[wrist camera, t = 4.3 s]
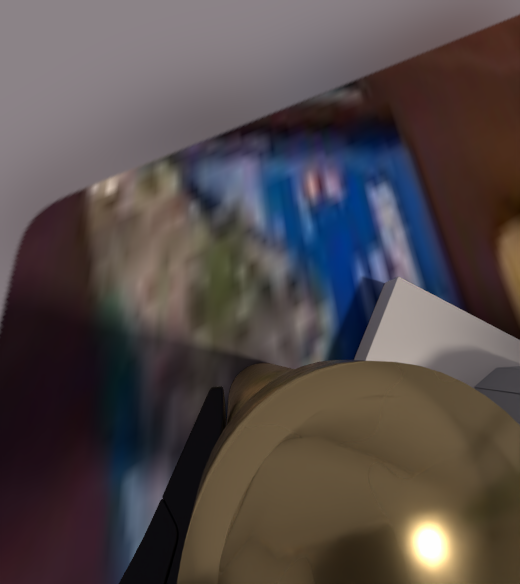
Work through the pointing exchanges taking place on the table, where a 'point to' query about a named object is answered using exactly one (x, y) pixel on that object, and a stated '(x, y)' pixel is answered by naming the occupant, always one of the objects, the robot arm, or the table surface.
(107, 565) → the table surface
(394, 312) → the socket plate
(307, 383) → the disc
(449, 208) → the table surface
